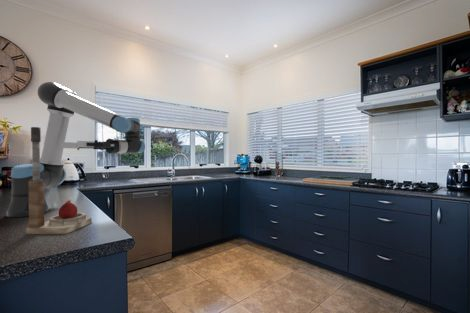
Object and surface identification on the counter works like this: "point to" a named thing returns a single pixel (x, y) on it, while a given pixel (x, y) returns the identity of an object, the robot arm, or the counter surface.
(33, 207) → the press
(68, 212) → the onion
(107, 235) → the counter surface
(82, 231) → the counter surface
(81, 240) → the counter surface
